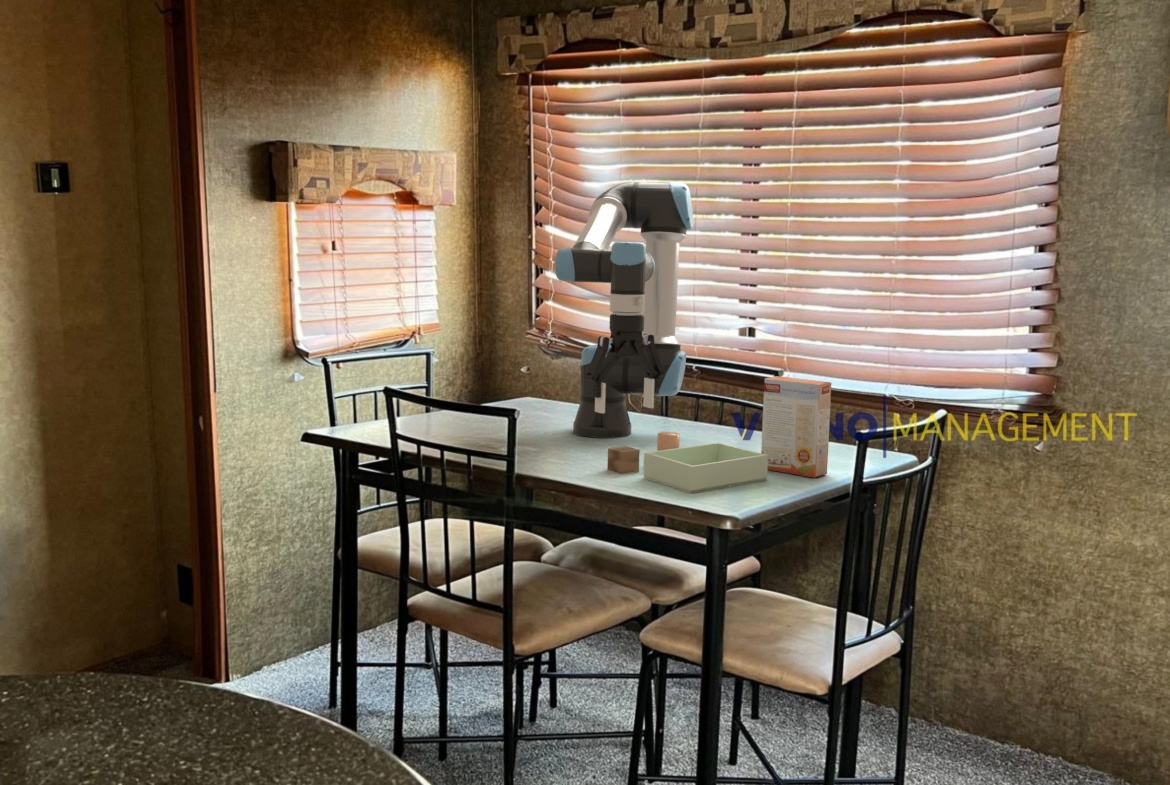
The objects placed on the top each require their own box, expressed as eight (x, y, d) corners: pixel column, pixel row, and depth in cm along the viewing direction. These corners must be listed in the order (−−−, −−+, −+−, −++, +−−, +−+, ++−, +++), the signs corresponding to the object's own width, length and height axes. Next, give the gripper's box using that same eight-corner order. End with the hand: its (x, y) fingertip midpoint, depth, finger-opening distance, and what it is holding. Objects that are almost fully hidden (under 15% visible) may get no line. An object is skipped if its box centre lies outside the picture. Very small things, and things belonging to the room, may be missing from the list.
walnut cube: (607, 470, 249) (607, 448, 248) (625, 467, 252) (625, 445, 251) (621, 474, 245) (621, 452, 244) (638, 471, 248) (639, 449, 247)
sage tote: (643, 478, 242) (644, 452, 241) (717, 466, 254) (718, 442, 253) (691, 493, 229) (692, 466, 228) (766, 480, 242) (767, 455, 241)
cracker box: (828, 474, 248) (833, 381, 245) (814, 479, 244) (819, 384, 241) (773, 464, 257) (777, 374, 254) (759, 468, 253) (763, 377, 250)
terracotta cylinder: (652, 463, 257) (653, 433, 256) (669, 460, 260) (670, 430, 259) (666, 467, 253) (667, 436, 252) (683, 464, 256) (684, 434, 255)
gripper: (591, 316, 233) (589, 417, 236) (681, 313, 247) (678, 407, 251) (570, 313, 239) (568, 412, 242) (660, 310, 253) (657, 402, 257)
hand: (624, 410), depth 246 cm, fingers open, 13 cm apart
